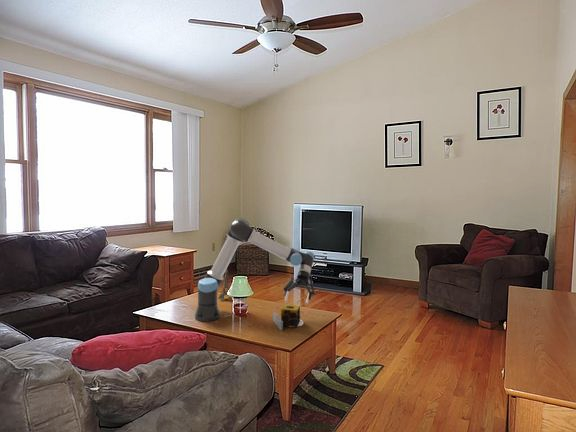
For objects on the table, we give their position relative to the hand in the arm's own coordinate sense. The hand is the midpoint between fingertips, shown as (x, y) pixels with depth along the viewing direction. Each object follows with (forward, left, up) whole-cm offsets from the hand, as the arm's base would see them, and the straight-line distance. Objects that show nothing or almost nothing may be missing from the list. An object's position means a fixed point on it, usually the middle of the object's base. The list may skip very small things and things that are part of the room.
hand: (295, 302), depth 243 cm
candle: (-5, -6, -11) cm, 13 cm away
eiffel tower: (-36, +55, -12) cm, 67 cm away
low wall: (-12, -5, -12) cm, 18 cm away
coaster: (-3, -3, -12) cm, 12 cm away
